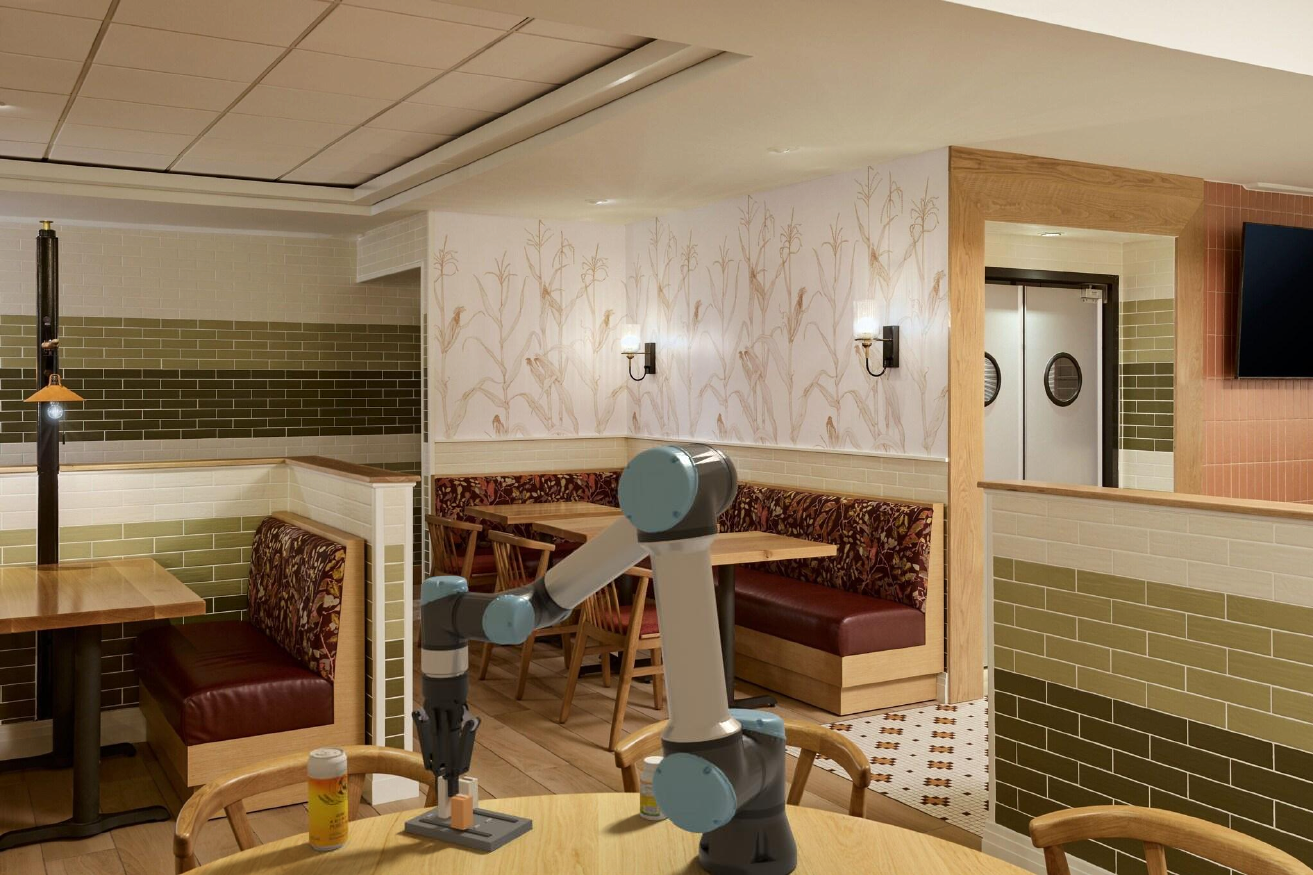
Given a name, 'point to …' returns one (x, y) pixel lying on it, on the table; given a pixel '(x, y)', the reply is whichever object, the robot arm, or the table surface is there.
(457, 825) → the orange fader
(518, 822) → the console
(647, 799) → the supplement bottle
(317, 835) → the beer can
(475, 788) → the cream fader
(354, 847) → the table surface
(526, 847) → the table surface
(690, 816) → the robot arm
